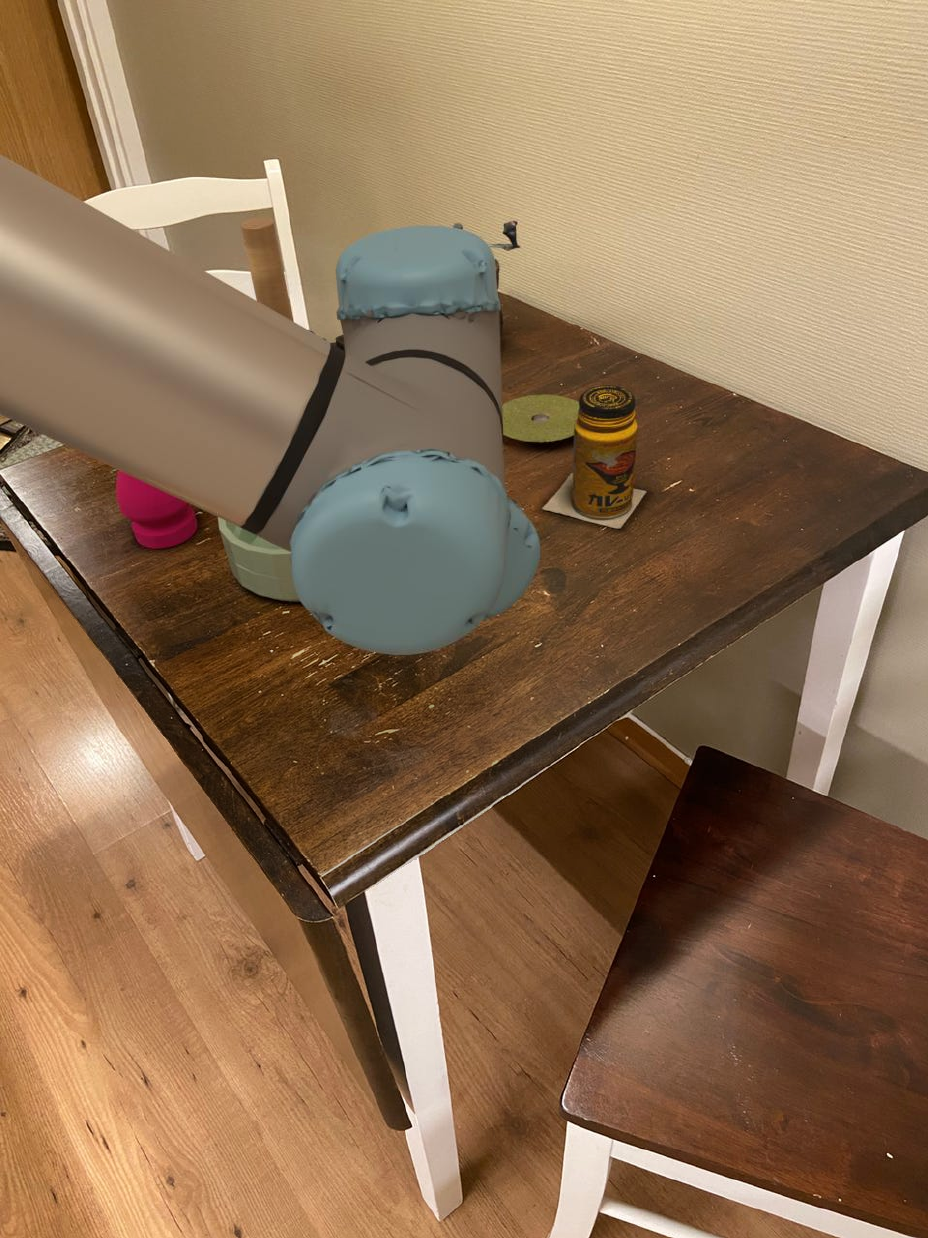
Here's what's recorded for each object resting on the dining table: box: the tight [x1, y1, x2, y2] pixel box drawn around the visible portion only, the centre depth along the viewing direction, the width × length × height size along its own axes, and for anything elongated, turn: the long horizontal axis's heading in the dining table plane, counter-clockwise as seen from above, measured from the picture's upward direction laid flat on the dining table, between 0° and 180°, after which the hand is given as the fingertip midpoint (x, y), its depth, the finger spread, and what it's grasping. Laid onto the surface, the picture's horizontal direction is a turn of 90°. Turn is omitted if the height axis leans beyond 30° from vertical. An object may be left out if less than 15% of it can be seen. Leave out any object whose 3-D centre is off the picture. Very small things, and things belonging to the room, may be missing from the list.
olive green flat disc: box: [502, 393, 579, 443], centre depth 101 cm, size 11×11×2 cm
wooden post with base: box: [240, 217, 294, 322], centre depth 70 cm, size 6×6×22 cm
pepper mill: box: [115, 470, 199, 550], centre depth 84 cm, size 7×7×20 cm
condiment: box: [541, 384, 647, 529], centre depth 86 cm, size 7×8×12 cm
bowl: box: [217, 517, 301, 603], centre depth 84 cm, size 15×15×6 cm
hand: (263, 333), depth 73 cm, fingers closed on wooden post with base, 2 cm apart
